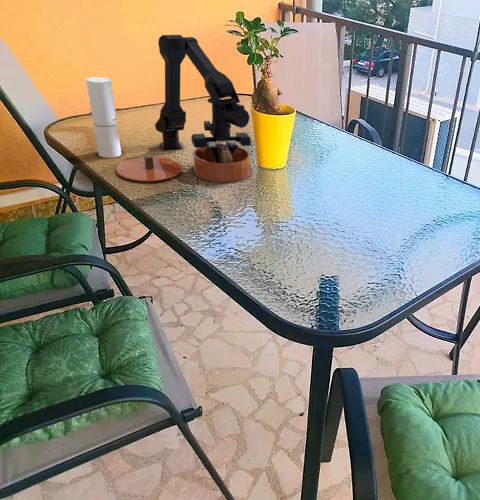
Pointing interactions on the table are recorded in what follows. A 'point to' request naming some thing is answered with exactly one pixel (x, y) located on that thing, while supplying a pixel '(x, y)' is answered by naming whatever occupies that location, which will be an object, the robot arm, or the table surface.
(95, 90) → the cylindrical container
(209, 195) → the table surface
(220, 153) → the tin
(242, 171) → the pot
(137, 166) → the lid
